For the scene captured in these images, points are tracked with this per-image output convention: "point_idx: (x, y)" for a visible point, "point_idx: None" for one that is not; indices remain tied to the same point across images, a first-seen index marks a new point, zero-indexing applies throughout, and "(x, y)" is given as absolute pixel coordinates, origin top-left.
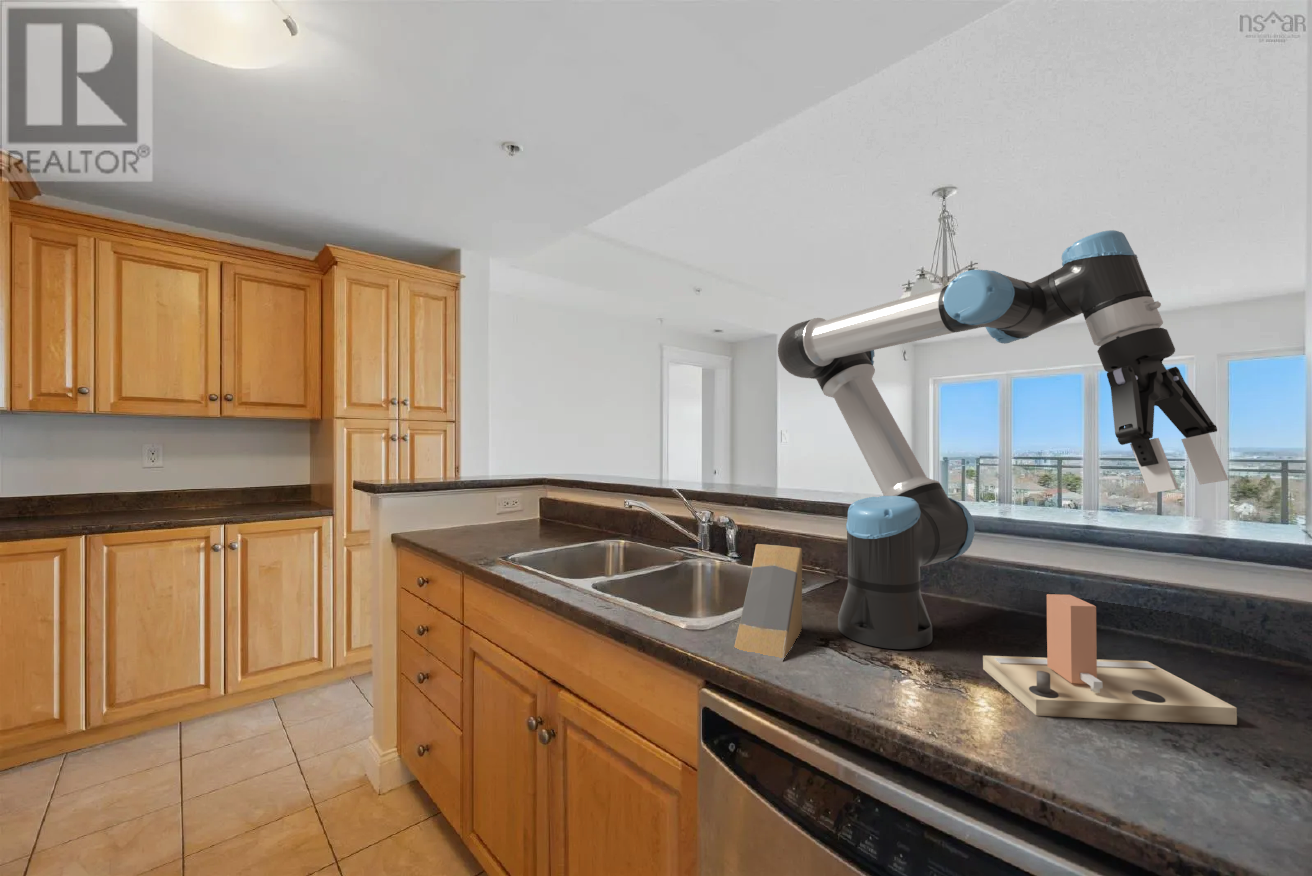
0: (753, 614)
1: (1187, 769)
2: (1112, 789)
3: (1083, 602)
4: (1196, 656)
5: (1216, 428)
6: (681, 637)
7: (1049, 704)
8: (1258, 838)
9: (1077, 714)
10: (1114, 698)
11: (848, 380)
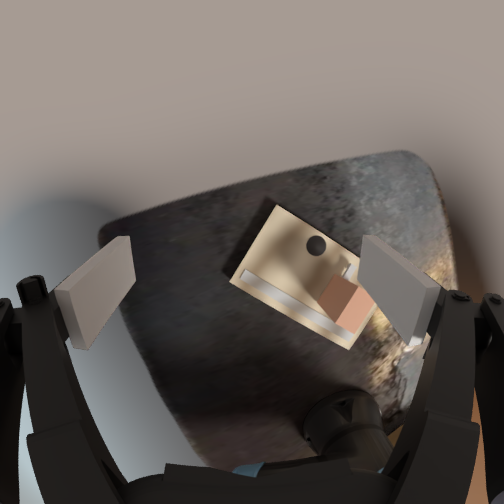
0: None
1: (373, 200)
2: (424, 213)
3: (354, 300)
4: (140, 278)
5: (26, 278)
6: None
7: None
8: (405, 162)
9: None
10: (343, 256)
11: None
